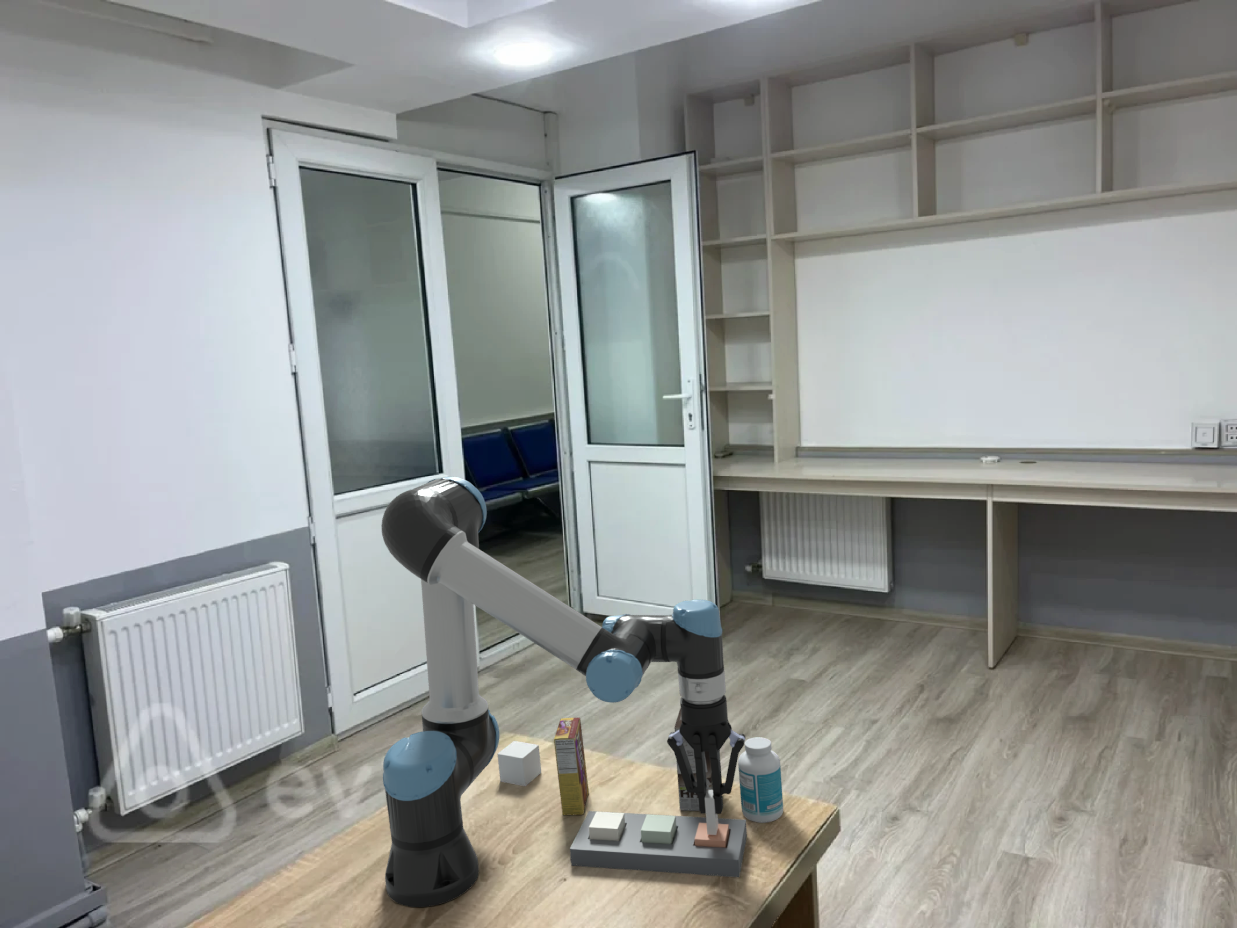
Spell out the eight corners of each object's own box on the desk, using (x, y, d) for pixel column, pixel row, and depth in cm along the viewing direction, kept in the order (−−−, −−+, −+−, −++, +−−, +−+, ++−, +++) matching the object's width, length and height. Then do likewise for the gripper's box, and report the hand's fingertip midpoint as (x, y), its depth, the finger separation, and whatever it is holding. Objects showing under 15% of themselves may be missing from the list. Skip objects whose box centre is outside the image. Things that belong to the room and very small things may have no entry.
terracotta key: (695, 857, 151) (694, 838, 151) (700, 840, 156) (699, 822, 156) (726, 859, 150) (724, 840, 150) (729, 842, 155) (728, 824, 154)
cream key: (590, 845, 156) (588, 827, 155) (597, 828, 160) (596, 811, 160) (618, 846, 154) (617, 828, 154) (625, 830, 159) (624, 813, 159)
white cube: (525, 786, 181) (522, 758, 180) (500, 781, 184) (497, 753, 183) (541, 772, 186) (538, 744, 185) (516, 767, 189) (514, 740, 188)
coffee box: (714, 812, 166) (708, 728, 164) (678, 810, 168) (672, 727, 165) (718, 786, 175) (713, 706, 173) (685, 785, 176) (679, 706, 174)
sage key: (642, 848, 153) (640, 830, 153) (648, 832, 158) (646, 814, 158) (671, 850, 152) (670, 831, 152) (676, 833, 157) (675, 815, 157)
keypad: (571, 865, 153) (569, 848, 153) (590, 826, 165) (588, 810, 164) (739, 877, 146) (738, 859, 146) (746, 835, 158) (745, 819, 157)
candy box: (566, 791, 178) (560, 717, 175) (589, 791, 177) (582, 716, 175) (560, 816, 169) (553, 738, 167) (583, 815, 168) (576, 737, 166)
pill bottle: (785, 804, 167) (781, 734, 165) (781, 826, 160) (777, 753, 158) (744, 801, 169) (740, 732, 167) (738, 822, 162) (734, 751, 160)
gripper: (659, 704, 147) (670, 840, 151) (740, 706, 144) (750, 845, 147) (667, 686, 154) (678, 816, 158) (745, 687, 151) (754, 820, 155)
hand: (712, 830), depth 153 cm, fingers closed
